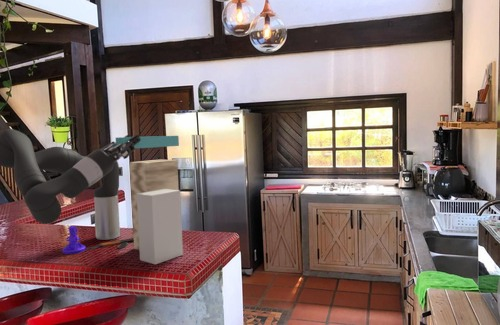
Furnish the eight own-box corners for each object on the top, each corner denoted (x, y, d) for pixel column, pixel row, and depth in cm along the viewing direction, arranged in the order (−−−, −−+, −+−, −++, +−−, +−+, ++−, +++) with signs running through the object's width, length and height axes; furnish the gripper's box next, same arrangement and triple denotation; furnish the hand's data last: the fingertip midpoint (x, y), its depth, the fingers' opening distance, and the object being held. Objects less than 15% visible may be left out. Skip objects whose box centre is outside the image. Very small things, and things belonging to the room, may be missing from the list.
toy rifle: (79, 254, 139) (73, 248, 147) (79, 258, 139) (73, 251, 147) (169, 237, 158) (159, 232, 166) (169, 241, 158) (160, 236, 166)
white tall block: (140, 260, 134) (136, 193, 132) (167, 250, 143) (164, 188, 141) (155, 264, 129) (151, 195, 127) (183, 254, 138) (180, 190, 136)
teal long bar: (116, 148, 123) (115, 137, 123) (171, 145, 140) (170, 135, 140) (123, 149, 121) (123, 137, 120) (178, 145, 138) (178, 135, 138)
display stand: (134, 248, 147) (129, 162, 145) (163, 239, 158) (160, 159, 156) (151, 253, 141) (146, 163, 138) (180, 243, 152) (177, 160, 149)
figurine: (59, 257, 143) (55, 230, 141) (68, 248, 151) (65, 223, 149) (81, 256, 143) (77, 229, 141) (89, 247, 151) (85, 222, 149)
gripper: (99, 158, 109) (142, 126, 120) (72, 157, 118) (115, 127, 129) (112, 180, 112) (153, 147, 123) (85, 177, 121) (126, 147, 132)
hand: (134, 137), depth 126 cm, fingers closed on teal long bar, 4 cm apart
